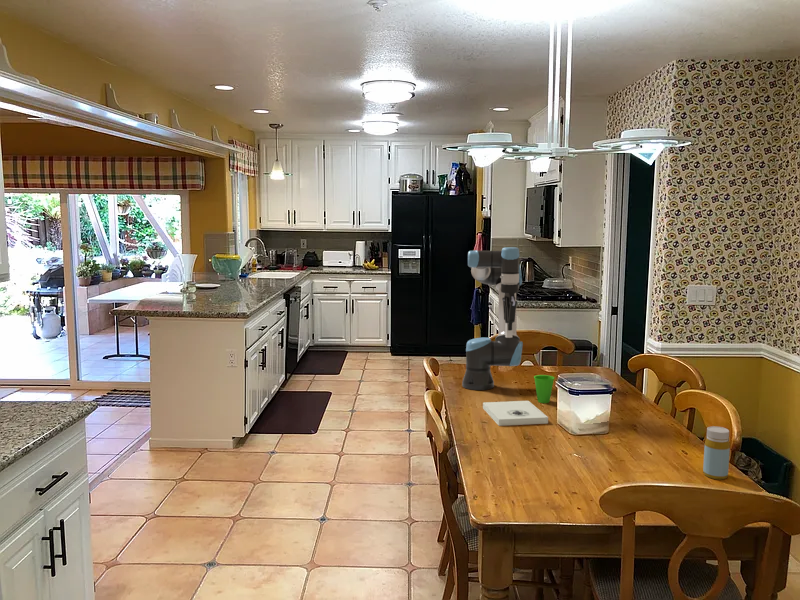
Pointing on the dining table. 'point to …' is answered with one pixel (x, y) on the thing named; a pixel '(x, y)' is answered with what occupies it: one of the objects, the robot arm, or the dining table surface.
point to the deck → (506, 416)
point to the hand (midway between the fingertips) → (508, 337)
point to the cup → (543, 387)
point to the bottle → (716, 453)
